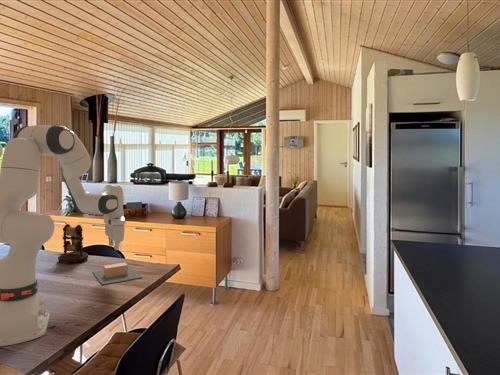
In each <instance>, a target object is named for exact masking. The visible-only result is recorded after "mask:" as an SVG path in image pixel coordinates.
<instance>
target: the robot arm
mask: <svg viewBox="0 0 500 375" xmlns="http://www.w3.org/2000/svg"><path fill="white" fill-rule="evenodd" d="M15 130H16V131H15V132H14V133H13V135H12V139H9V140H8V141H7V142H6V145H5V147H4V150H3V154H2V158H1V163H0V244H9V251H8V254H6V255H5V256H2V257H1V258H0V347H6V346H11V345H12V346H13V345H17V344H21V343H24V342H29V341H32V340H35V339H37V338H40V337H42V336H44V335H46V333H47V329H48V326H49V322H50V318H51V316H50V313H49V312H47V311H46V307H44V305H45V301H44V299H43V294H42V293H40V292H38V291H39V290H38V288H39V287H38V286H39V284H38V280H37V279H36V265H37V264H36V263H37V262H36V261H37V257H38V254H39V251H40V250H41V249H42V248H41V247H42V246H43V245H44V244H46V243H47V242H48V241H49V240H50V239H51V238H52V236H53V235H54V232H55V222H54V220H53V218H52V217H51V216H50V215H49V214H45V213H42V212H37V211H26V210H25V211H23V210H22V209H23V206H24V205H25V203H26V202H27V201H28V200H31V199H32V198H34V197H35V196H36V195H37V193H38V188H39V177H40V176H39V175H40V159H41V157H42V156H56V158H57V160H58V161H59V163H60V166H61V167H62V168H61V176H62V179H63V181H64V185H65V186H66V188H67V190H68V193H69V195H70V197H71V198H70V199H71V202H72V207H73V209H74V210H75V211H76V213H78V214H80V215H101V216H103V224H105V226H104V227H105V228H104V233H105V235H106V236H107V239H108V246H110V247H114V250H115V251H119V250H120V243H121V242H124V238H125V225H126V224H127V223H126V219H125V216H124V215H125V214H124V213H125V212H124V203H125V202H124V201H125V199H124V198H125V197H124V190H123V187H122V186H120V185H116V184H115V185H114V184H107V185H105V186H104V189H103V190H101V191H100V192H89V191H87V190H85V189H84V187H83V184H82V181H81V178H80V177H82V176H84V175H85V174H87V172H88V171H89V170H90V169H91V166H92V159H91V156H90V154H89V152H88V150H87V149H86V146H84V143H83V141H81V139H80V138H79V136H78V135H77V134H76V133H75V132H74V131H73V130H70V129H69V128H68V127H66V126H64V125H59V124H56V125H55V124H53V125H48V124H35V125H34V124H33V125H26V126H22V127H19V128H17V129H15Z"/></svg>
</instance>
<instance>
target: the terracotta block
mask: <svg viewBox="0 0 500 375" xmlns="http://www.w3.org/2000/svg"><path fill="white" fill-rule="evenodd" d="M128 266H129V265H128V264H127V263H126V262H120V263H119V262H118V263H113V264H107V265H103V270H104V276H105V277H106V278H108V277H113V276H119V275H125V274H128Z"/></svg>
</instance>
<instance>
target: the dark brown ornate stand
mask: <svg viewBox="0 0 500 375" xmlns="http://www.w3.org/2000/svg"><path fill="white" fill-rule="evenodd" d="M83 230H84V229H83V227H82V225H81V224H76V226H75V227H73V226H71V225H70V224H69V223H67V224H65V225H64V227H63V228H62V231H63V234H62V235H63V236H62V239H63V245H62V247H63V253H62V254H61V255H59V256H58V257H57V260H58V263H61V262H63V263H74V264H77V263H78V262H80V261H85V260H86V259H88V258H89V254H88V253H86V252H85V251H83V248H84V245H83V240H84V236H83Z"/></svg>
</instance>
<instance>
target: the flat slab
mask: <svg viewBox="0 0 500 375" xmlns="http://www.w3.org/2000/svg"><path fill="white" fill-rule="evenodd" d="M92 274H93V276H94V277H95V278H96V279H97V281H98V282H99V284H100V285H101V286H105V285H106V284H107V285H109V284H110V285H111V284H116V283H121V282H128V281H133V280H138V279H142V278H143V276H142V275H141V274H140V273H138V272H137V271H136V270H135V269H134V268H133V267H131V266H130V265H128V274H125V275H119V276H113V277H108V278H106V277H105V276H104V269H102V270H100V269H99V270H96V271H95V270H94V271H92Z"/></svg>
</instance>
